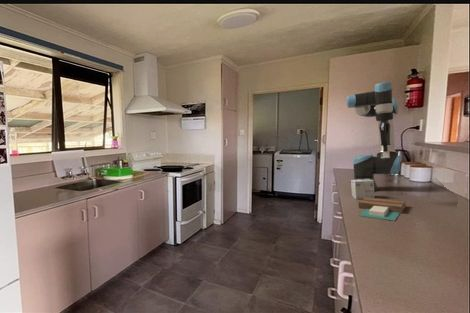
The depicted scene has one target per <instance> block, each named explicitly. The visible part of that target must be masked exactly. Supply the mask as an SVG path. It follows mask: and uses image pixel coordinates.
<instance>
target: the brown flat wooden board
mask: <svg viewBox="0 0 470 313" xmlns="http://www.w3.org/2000/svg"><path fill="white" fill-rule="evenodd" d="M406 204H407V203H406V200H403V199H402V200H399V199H392V198H391V199H389V198H376V197H375V198H369V197H365V198H364V199H360V201H358V209H364V210H365V209H371V208H372V207H373V206H382V207H388V209H389V211H390V212H398V213H400V214H402V213H403V212H404V210H405V208H406V207H407V206H406Z"/></svg>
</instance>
